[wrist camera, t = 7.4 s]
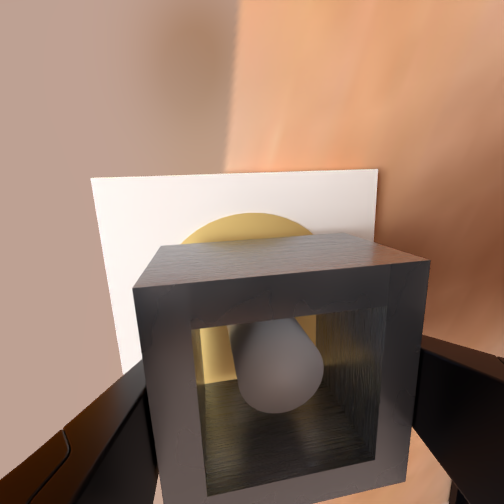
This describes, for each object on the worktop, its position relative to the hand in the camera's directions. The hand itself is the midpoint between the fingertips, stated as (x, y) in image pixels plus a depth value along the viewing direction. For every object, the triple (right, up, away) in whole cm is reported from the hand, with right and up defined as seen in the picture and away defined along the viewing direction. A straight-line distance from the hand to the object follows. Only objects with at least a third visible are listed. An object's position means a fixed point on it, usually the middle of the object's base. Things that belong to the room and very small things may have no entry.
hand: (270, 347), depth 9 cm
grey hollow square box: (0, 0, +1) cm, 2 cm away
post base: (-1, +1, +4) cm, 4 cm away
